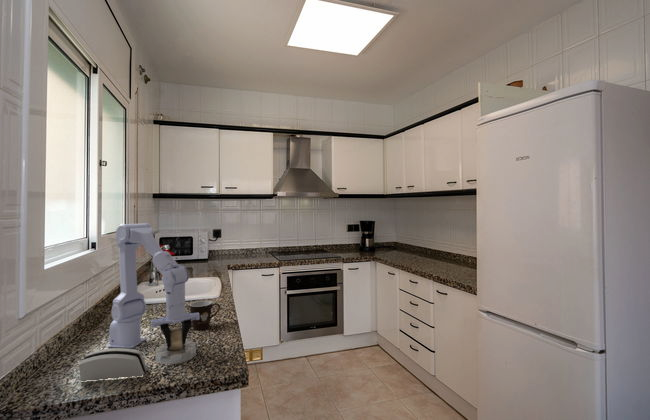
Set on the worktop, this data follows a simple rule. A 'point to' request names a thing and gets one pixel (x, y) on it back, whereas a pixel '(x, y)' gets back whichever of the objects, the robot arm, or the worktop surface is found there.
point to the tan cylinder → (176, 339)
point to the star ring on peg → (175, 353)
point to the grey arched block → (112, 364)
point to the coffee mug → (202, 314)
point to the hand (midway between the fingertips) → (176, 344)
